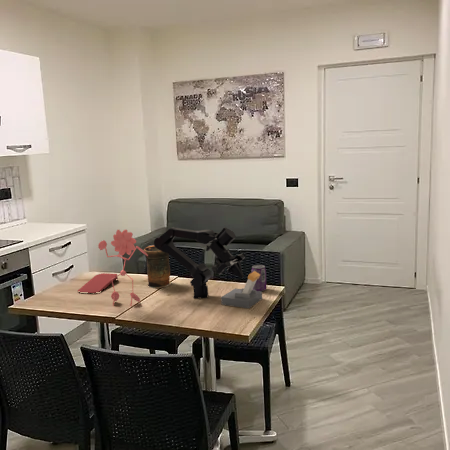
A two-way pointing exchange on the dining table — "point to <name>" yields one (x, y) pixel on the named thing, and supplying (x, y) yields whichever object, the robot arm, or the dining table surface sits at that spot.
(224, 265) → the robot arm
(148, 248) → the vessel
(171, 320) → the dining table surface
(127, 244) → the figurine
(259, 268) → the beverage can
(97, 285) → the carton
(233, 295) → the box
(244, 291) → the lever
